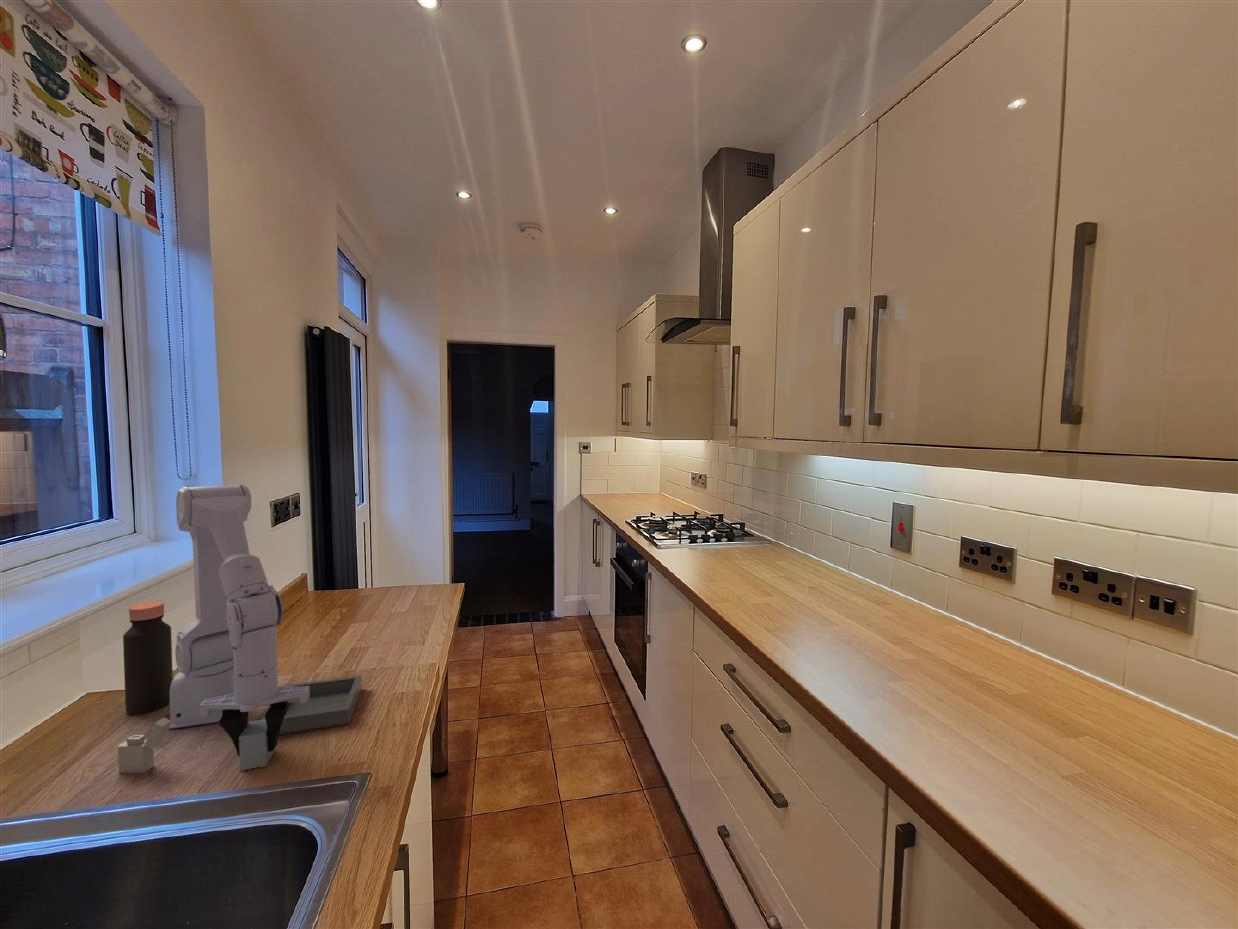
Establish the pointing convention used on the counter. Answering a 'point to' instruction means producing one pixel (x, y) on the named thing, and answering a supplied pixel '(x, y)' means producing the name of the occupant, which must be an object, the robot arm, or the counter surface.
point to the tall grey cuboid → (254, 746)
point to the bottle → (147, 659)
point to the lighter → (141, 749)
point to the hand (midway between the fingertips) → (257, 750)
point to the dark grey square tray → (323, 705)
